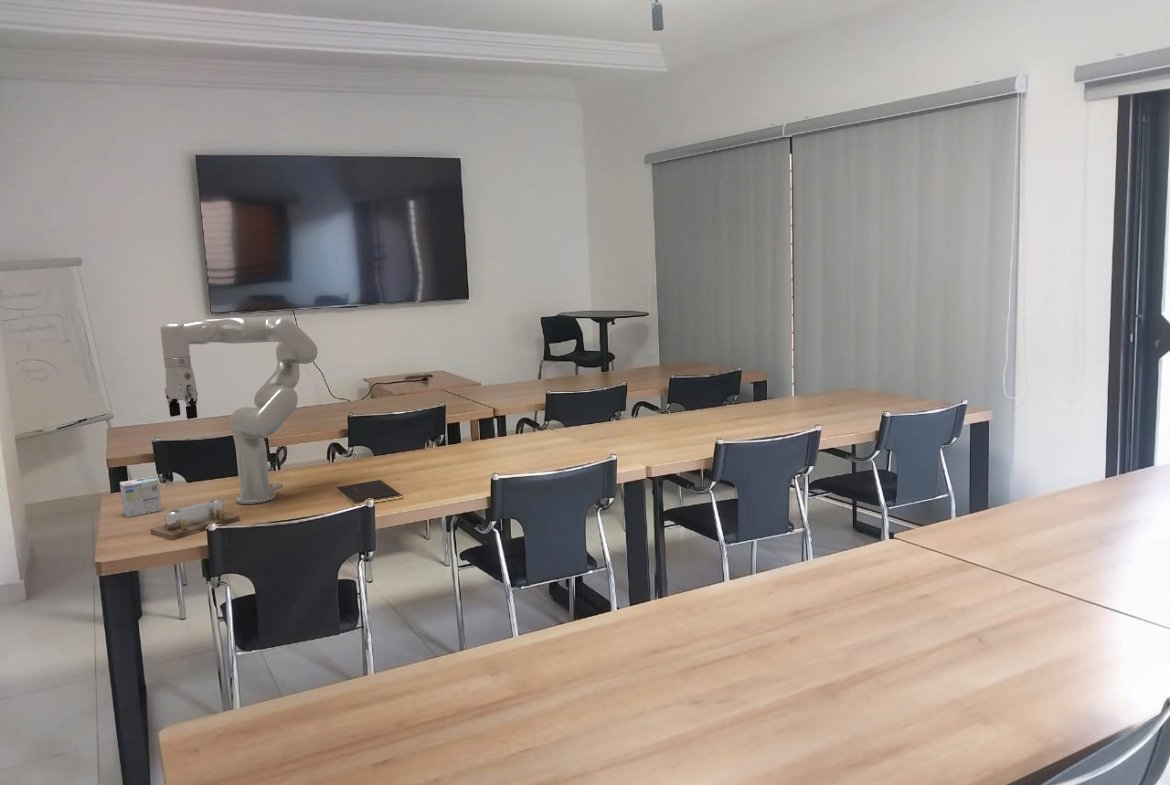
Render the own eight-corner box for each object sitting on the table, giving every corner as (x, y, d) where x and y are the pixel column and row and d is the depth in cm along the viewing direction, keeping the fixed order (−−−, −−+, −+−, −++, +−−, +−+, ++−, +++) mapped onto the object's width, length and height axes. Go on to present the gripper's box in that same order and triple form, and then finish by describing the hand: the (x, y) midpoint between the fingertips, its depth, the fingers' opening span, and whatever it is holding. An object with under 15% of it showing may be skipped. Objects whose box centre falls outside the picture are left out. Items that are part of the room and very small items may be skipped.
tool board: (218, 514, 282) (216, 501, 282) (239, 520, 275) (238, 506, 275) (150, 533, 265) (149, 519, 264) (172, 540, 258) (170, 525, 257)
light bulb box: (157, 506, 295) (154, 475, 293) (162, 510, 290) (159, 479, 288) (122, 513, 288) (118, 481, 287) (127, 518, 283) (123, 485, 281)
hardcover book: (354, 508, 285) (354, 502, 285) (337, 493, 305) (336, 486, 305) (402, 500, 293) (402, 493, 292) (382, 485, 313) (381, 479, 312)
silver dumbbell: (219, 513, 278) (218, 498, 278) (227, 515, 276) (225, 499, 275) (164, 528, 264) (162, 512, 263) (171, 530, 262) (169, 514, 261)
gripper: (204, 362, 272) (210, 417, 274) (174, 360, 282) (180, 413, 284) (181, 365, 266) (187, 421, 268) (151, 363, 276) (157, 417, 278)
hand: (183, 417), depth 276 cm, fingers open, 9 cm apart
